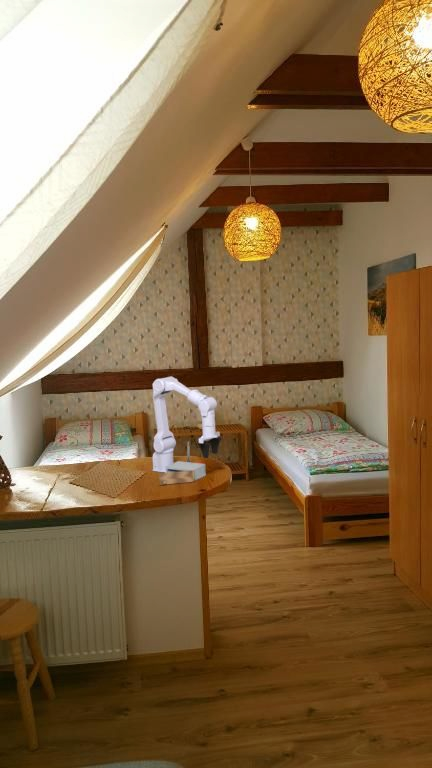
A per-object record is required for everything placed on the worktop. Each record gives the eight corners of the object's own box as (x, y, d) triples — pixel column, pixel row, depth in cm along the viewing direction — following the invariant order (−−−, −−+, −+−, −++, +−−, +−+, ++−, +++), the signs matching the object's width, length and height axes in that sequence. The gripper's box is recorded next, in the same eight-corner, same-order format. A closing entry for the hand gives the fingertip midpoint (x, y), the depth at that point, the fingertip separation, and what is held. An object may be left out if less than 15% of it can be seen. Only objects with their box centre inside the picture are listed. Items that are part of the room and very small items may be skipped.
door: (194, 480, 247) (193, 470, 246) (195, 482, 245) (194, 471, 244) (159, 484, 245) (158, 473, 244) (159, 485, 243) (159, 475, 242)
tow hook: (200, 464, 276) (183, 466, 272) (199, 437, 275) (182, 440, 270) (208, 467, 269) (191, 470, 265) (208, 441, 268) (191, 443, 263)
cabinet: (166, 477, 255) (165, 466, 254) (178, 471, 264) (178, 461, 263) (193, 481, 247) (193, 470, 247) (206, 474, 256) (205, 464, 255)
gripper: (207, 429, 240) (209, 460, 242) (224, 422, 252) (226, 452, 254) (193, 428, 244) (195, 459, 246) (211, 421, 256) (212, 451, 258)
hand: (210, 455), depth 250 cm, fingers open, 7 cm apart
